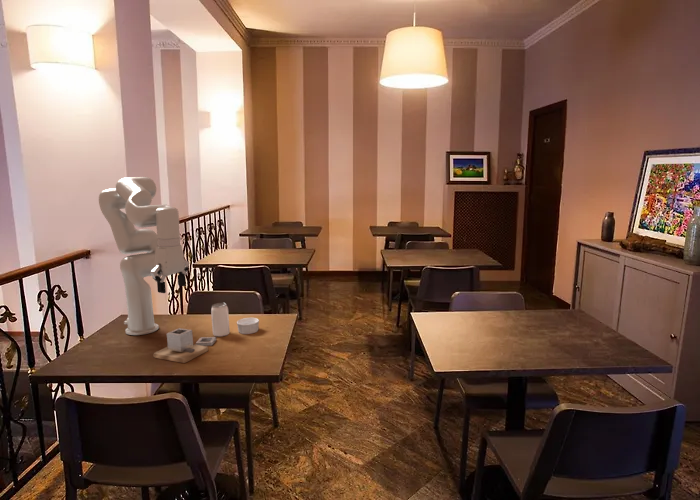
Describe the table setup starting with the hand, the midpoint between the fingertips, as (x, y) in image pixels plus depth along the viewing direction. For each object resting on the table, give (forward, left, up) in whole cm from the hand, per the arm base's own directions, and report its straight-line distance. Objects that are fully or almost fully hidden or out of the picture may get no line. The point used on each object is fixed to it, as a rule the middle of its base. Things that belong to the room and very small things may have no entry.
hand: (172, 289), depth 172 cm
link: (+5, -4, -20) cm, 21 cm away
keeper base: (+5, -4, -23) cm, 23 cm away
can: (+5, +18, -23) cm, 30 cm away
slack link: (+6, +8, -23) cm, 25 cm away
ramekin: (+13, +25, -23) cm, 37 cm away
